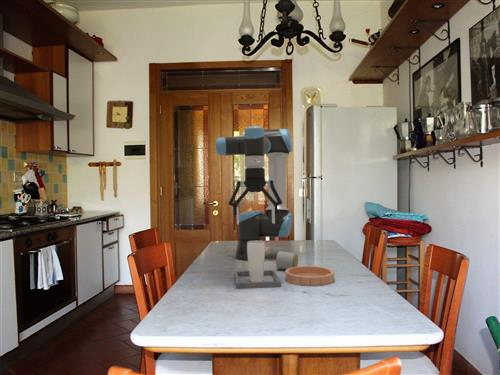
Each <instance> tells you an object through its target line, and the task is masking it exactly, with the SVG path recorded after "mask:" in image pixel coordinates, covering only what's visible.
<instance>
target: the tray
mask: <svg viewBox="0 0 500 375" xmlns="http://www.w3.org/2000/svg"><path fill="white" fill-rule="evenodd" d="M264 276H272V278H273V279H274V281H273V280H270V281H262V282H251V281H246V282H239V277H250V276H249V270H239V271H234V280H235V288H236V289H255V288H259V289H261V288H281V287H282V282H281V280H280V278H279V276H278V274H277V273H276V271H275V269H270V270H269V269H268V270H267V269H266V270H265V269H264Z"/></svg>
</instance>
